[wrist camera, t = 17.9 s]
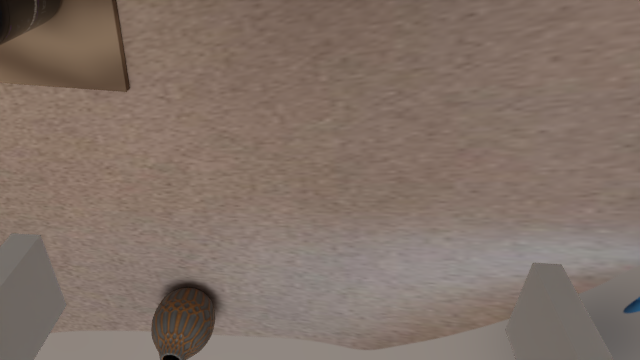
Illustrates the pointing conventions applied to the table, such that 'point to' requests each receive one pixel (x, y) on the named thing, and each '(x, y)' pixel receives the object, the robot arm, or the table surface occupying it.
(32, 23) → the supplement bottle
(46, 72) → the board
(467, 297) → the table surface
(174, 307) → the vase
